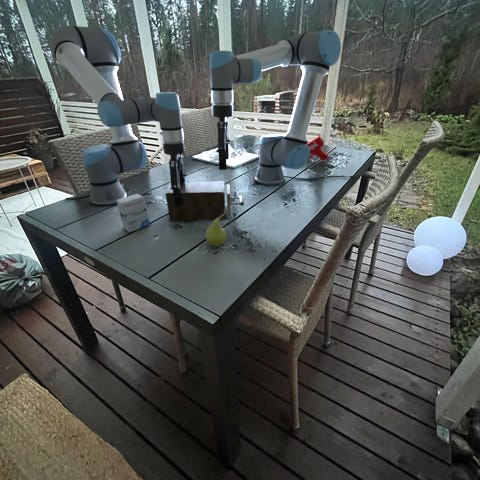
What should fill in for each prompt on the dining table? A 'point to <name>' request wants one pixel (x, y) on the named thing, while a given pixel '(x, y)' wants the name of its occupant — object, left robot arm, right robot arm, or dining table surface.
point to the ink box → (133, 212)
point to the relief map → (234, 159)
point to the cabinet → (197, 201)
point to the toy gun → (317, 148)
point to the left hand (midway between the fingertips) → (181, 198)
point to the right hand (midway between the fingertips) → (224, 164)
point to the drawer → (232, 198)
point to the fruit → (216, 233)
